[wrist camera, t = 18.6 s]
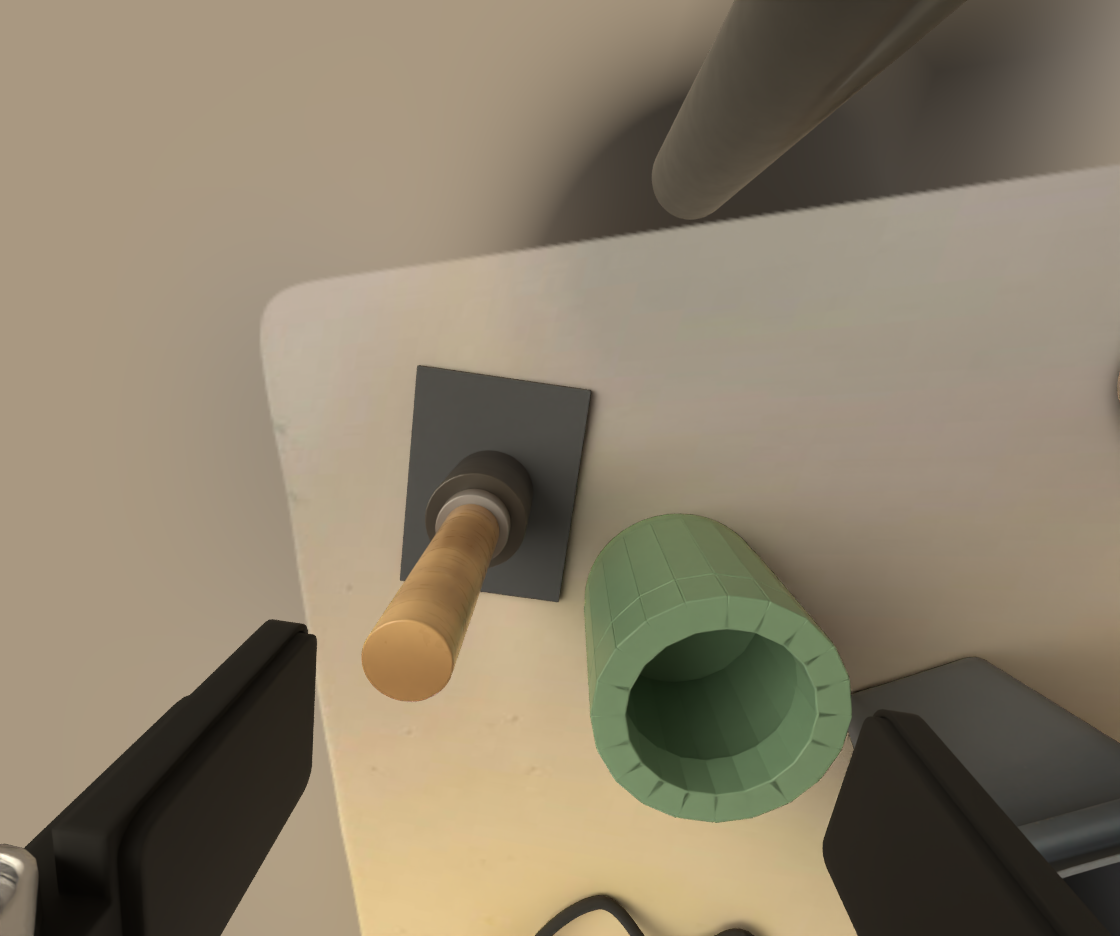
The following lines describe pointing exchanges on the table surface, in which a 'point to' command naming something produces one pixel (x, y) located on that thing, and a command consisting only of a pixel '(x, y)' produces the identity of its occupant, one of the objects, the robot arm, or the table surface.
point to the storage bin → (1025, 766)
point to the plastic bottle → (1118, 387)
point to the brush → (449, 575)
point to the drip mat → (517, 430)
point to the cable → (614, 908)
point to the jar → (707, 674)
